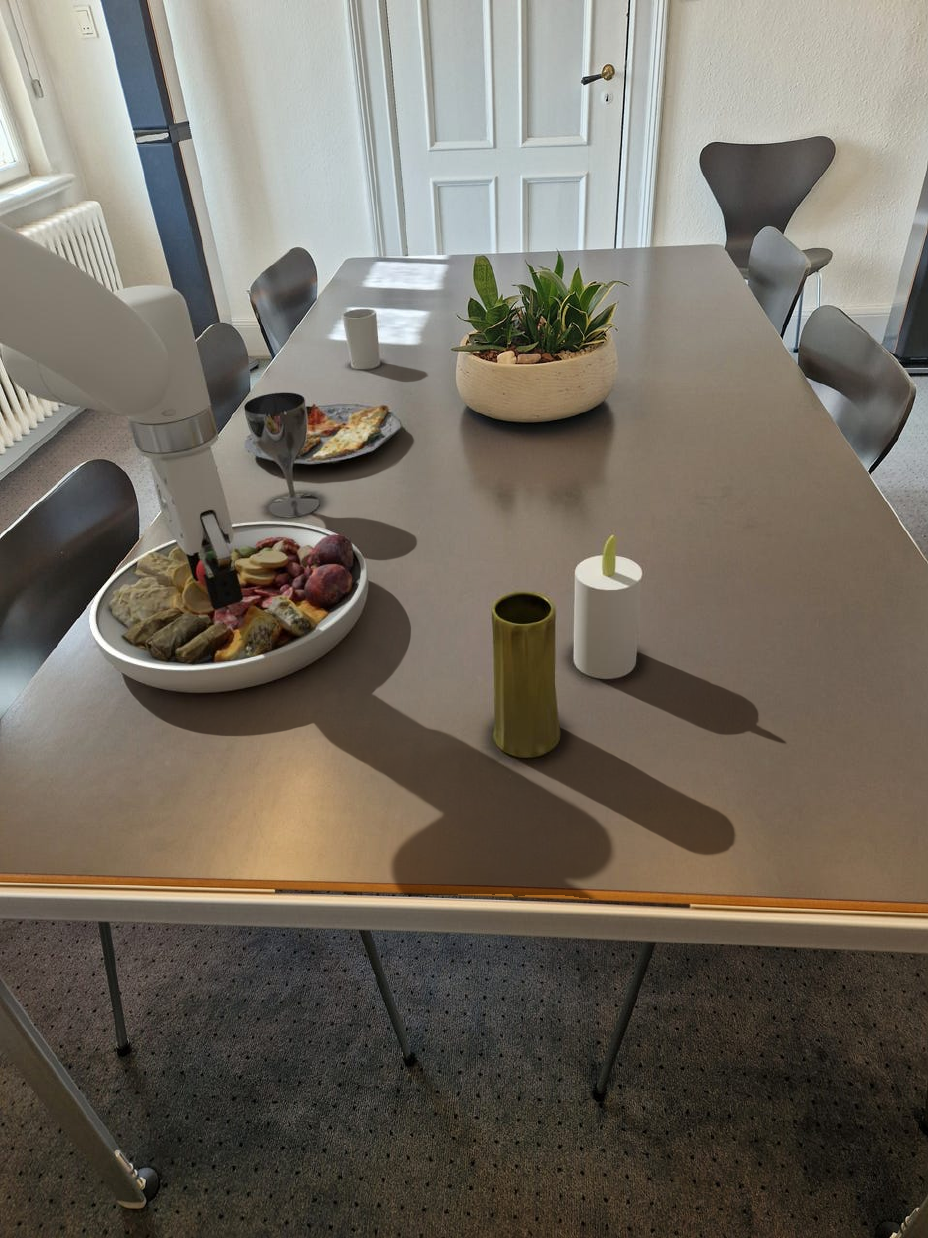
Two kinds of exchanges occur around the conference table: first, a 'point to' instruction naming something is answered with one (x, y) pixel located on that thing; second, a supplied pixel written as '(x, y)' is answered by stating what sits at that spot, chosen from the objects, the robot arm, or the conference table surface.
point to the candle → (606, 614)
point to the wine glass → (282, 443)
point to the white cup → (362, 338)
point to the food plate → (340, 432)
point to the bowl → (232, 610)
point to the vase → (524, 674)
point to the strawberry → (200, 568)
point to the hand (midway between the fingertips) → (217, 588)
